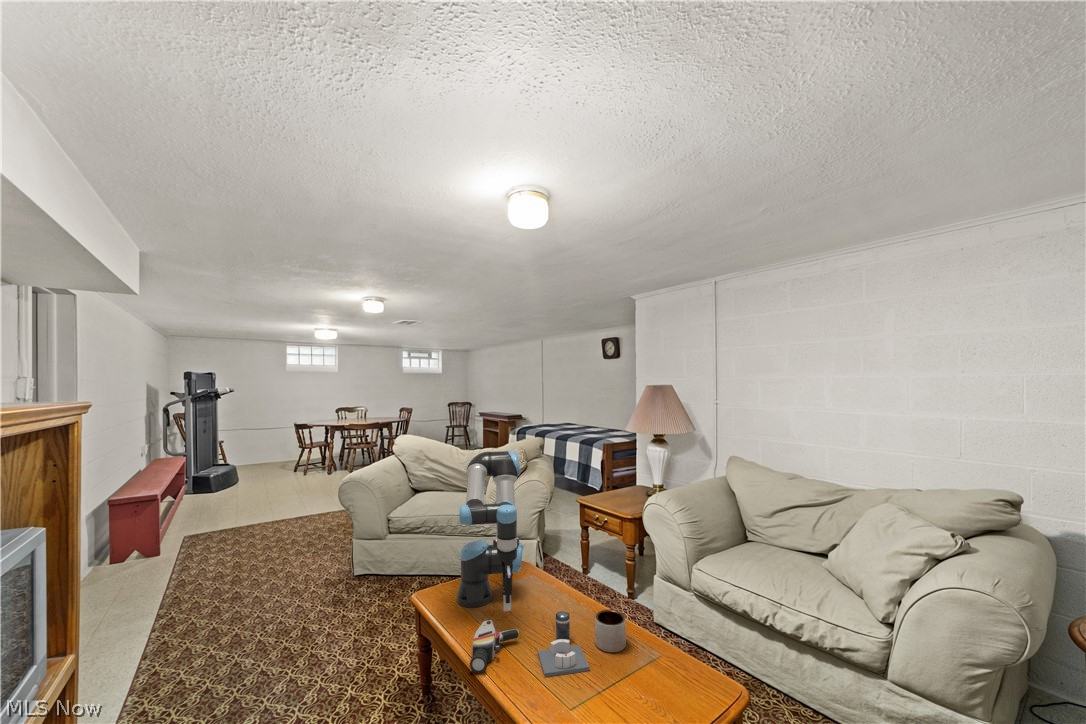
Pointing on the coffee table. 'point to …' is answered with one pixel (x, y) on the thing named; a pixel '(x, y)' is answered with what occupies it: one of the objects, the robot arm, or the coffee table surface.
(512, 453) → the robot arm
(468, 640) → the coffee table surface
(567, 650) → the mount
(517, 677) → the coffee table surface
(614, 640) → the planter
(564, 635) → the lens
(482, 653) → the film camera
